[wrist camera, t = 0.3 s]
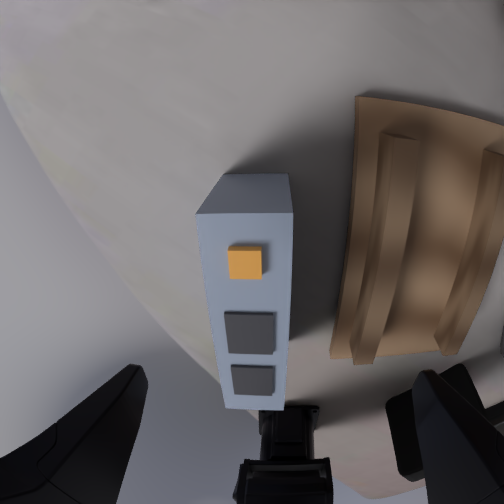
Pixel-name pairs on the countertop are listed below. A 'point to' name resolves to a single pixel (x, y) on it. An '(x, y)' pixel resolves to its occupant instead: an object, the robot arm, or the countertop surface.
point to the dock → (418, 229)
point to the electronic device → (405, 427)
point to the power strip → (249, 284)
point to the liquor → (502, 343)
